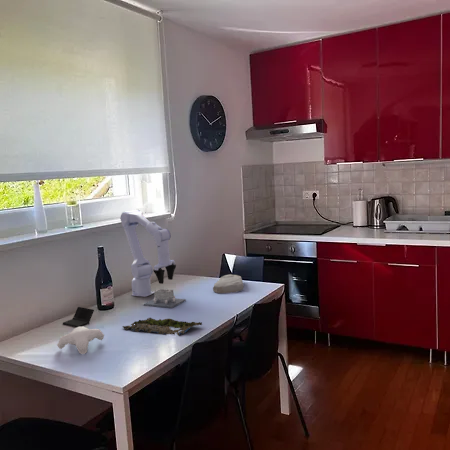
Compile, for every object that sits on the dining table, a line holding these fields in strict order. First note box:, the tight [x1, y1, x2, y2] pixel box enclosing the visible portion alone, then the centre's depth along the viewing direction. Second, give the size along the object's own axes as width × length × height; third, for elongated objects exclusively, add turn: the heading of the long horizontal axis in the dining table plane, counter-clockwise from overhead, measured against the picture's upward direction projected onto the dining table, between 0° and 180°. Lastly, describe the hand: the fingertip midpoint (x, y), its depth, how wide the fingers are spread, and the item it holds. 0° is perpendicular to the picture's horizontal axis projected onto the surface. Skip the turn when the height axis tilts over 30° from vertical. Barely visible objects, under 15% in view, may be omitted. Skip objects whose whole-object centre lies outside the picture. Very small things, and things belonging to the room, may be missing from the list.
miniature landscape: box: [122, 317, 203, 336], centre depth 190 cm, size 32×12×3 cm, turn 66°
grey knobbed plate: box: [143, 295, 187, 309], centre depth 225 cm, size 16×12×3 cm
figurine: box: [56, 326, 105, 355], centre depth 175 cm, size 17×9×18 cm
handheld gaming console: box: [62, 306, 95, 328], centre depth 205 cm, size 12×7×10 cm
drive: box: [154, 288, 175, 303], centre depth 225 cm, size 8×4×6 cm, turn 62°
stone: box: [212, 273, 244, 294], centre depth 246 cm, size 21×15×5 cm
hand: (165, 281), depth 230 cm, fingers open, 7 cm apart
